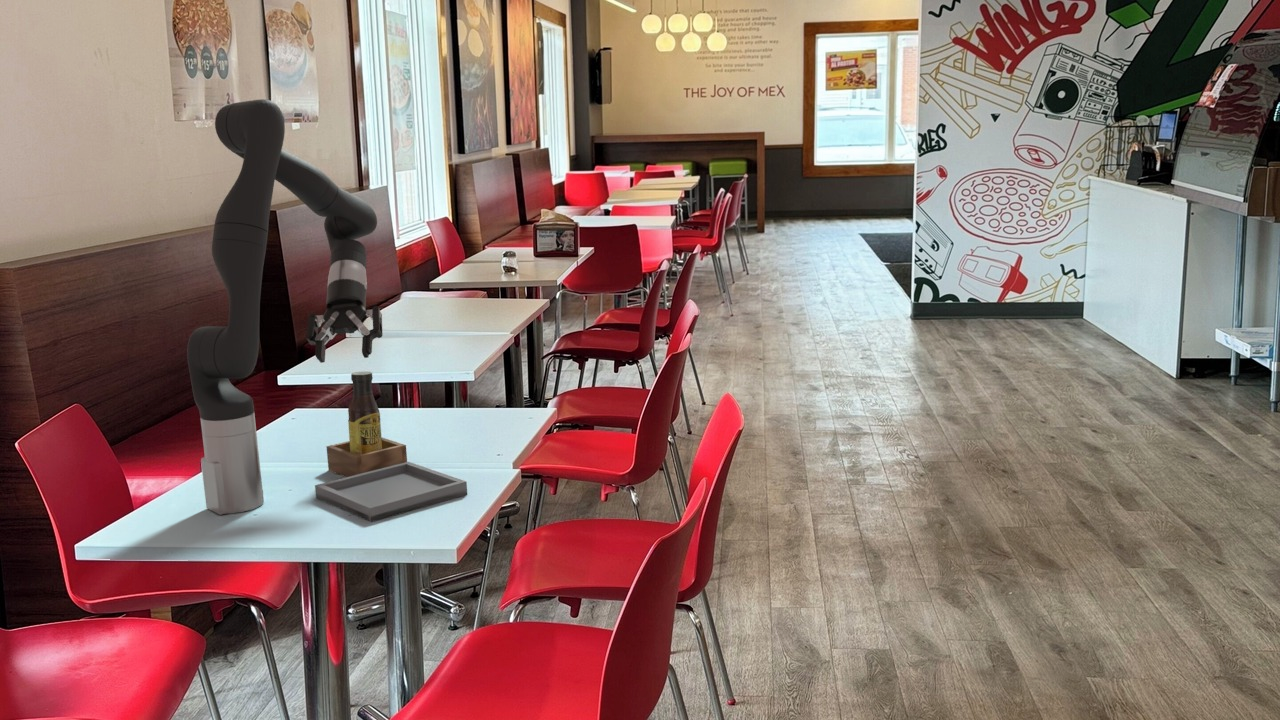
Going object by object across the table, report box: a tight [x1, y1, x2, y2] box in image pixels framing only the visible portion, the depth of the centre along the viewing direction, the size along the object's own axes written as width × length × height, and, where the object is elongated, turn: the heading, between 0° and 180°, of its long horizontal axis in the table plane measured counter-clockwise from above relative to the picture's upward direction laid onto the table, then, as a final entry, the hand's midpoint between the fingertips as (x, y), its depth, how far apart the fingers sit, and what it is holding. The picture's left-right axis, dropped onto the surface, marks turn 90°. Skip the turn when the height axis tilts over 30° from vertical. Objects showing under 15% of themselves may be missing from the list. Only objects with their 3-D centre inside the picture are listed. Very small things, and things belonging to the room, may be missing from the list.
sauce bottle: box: [347, 370, 382, 455], centre depth 226 cm, size 6×6×20 cm
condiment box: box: [325, 436, 408, 478], centre depth 227 cm, size 11×12×5 cm
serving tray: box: [314, 461, 468, 523], centre depth 210 cm, size 20×20×2 cm
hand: (343, 358), depth 217 cm, fingers open, 8 cm apart
